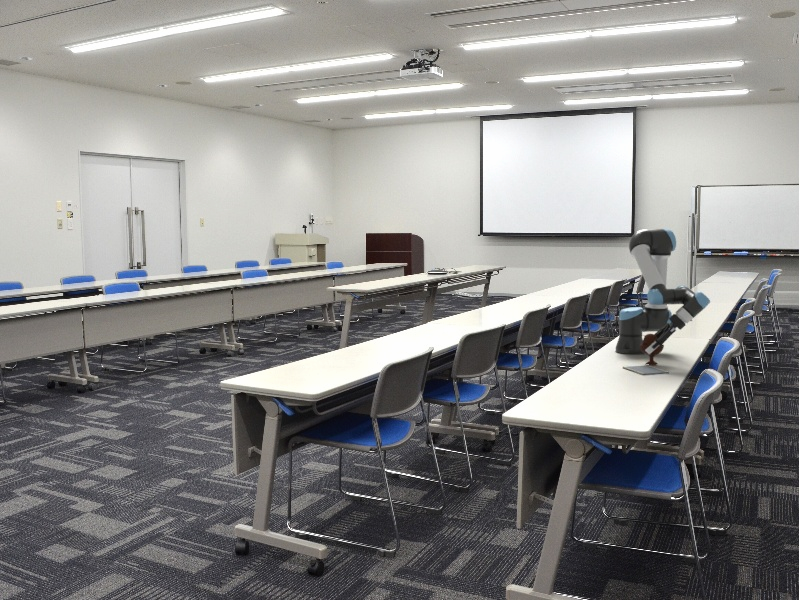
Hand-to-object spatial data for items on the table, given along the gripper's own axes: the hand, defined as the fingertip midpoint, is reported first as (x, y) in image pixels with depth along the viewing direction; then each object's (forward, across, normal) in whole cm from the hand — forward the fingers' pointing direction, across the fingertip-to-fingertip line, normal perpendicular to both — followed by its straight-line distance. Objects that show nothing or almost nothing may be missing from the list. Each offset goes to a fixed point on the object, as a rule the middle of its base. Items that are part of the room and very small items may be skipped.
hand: (645, 350), depth 343 cm
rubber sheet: (+6, -17, -3) cm, 18 cm away
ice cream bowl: (+3, 0, -7) cm, 7 cm away
